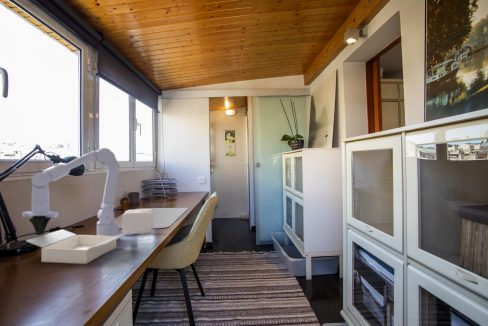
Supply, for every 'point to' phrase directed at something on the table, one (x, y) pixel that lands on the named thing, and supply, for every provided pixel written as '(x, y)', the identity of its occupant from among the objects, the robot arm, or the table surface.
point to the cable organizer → (137, 221)
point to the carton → (77, 249)
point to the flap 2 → (110, 240)
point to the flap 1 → (51, 238)
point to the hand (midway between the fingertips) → (40, 234)
